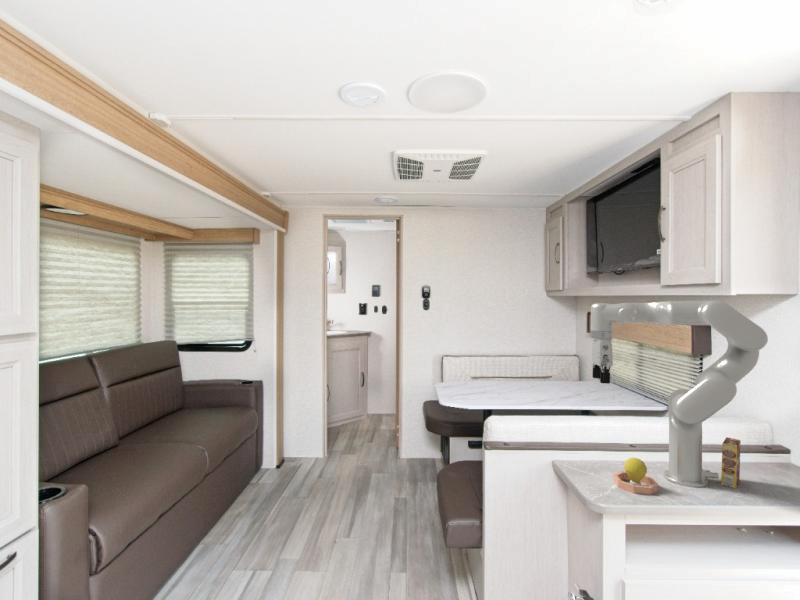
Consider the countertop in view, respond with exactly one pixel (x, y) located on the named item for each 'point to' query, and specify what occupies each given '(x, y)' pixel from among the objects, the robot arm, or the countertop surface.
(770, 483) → the countertop surface
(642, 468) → the light bulb
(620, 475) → the terracotta ring
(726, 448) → the candy box
